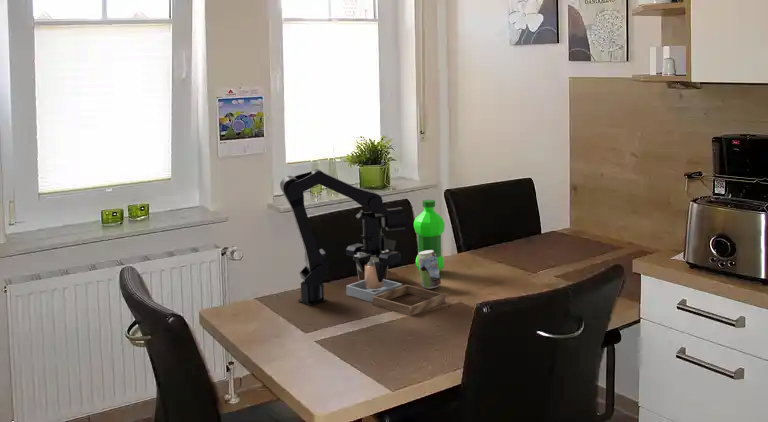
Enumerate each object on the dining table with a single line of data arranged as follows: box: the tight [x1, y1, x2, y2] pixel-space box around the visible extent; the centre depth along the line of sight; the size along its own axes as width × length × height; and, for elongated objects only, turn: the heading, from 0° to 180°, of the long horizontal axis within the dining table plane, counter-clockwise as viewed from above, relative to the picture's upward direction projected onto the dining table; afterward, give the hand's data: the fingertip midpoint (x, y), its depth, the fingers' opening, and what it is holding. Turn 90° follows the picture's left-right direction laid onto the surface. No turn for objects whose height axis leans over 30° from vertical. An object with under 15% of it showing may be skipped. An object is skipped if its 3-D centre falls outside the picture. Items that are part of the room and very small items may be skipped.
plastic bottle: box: [413, 199, 446, 272], centre depth 268 cm, size 10×10×25 cm
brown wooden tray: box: [372, 284, 446, 316], centre depth 240 cm, size 15×15×2 cm
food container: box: [353, 249, 390, 282], centre depth 266 cm, size 12×6×10 cm, turn 84°
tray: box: [345, 279, 403, 303], centre depth 250 cm, size 12×12×3 cm
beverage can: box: [416, 250, 442, 290], centre depth 254 cm, size 6×7×12 cm
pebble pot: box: [364, 260, 383, 289], centre depth 249 cm, size 6×6×8 cm
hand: (373, 280), depth 250 cm, fingers closed on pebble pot, 5 cm apart
